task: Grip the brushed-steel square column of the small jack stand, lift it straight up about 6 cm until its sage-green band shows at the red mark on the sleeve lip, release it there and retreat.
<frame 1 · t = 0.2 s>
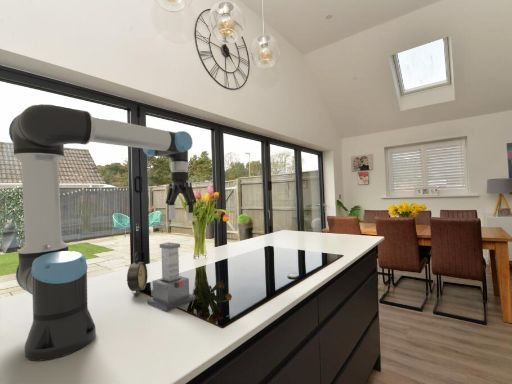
hand: (180, 220, 117), 28 cm above the kitchen island, fingers open, 13 cm apart
stand base: (171, 301, 96), on the kitchen island
alarm clock: (137, 293, 106), on the kitchen island
column: (170, 270, 96), point 11 cm above the kitchen island, slide at 0.0 cm
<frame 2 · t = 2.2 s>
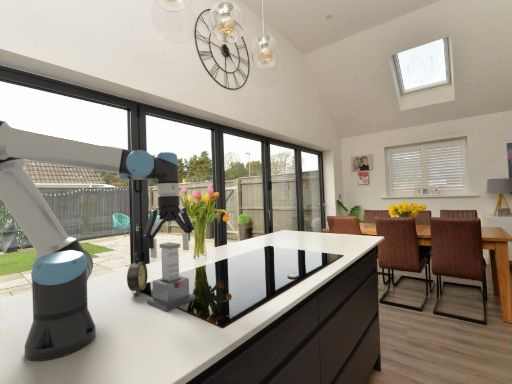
hand: (170, 253, 96), 17 cm above the kitchen island, fingers open, 13 cm apart
nothing on the kitchen island moved.
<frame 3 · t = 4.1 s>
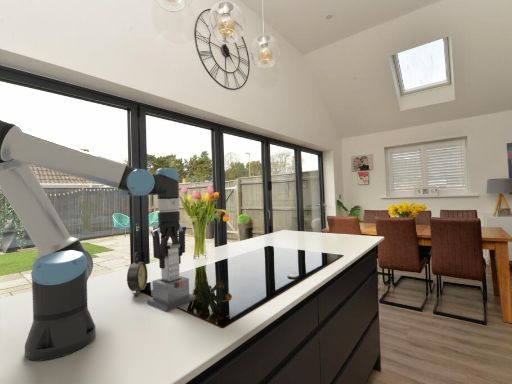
hand: (170, 275, 96), 10 cm above the kitchen island, fingers closed on column, 4 cm apart
column: (170, 270, 96), point 11 cm above the kitchen island, slide at 0.0 cm, touching gripper
everything else where it was.
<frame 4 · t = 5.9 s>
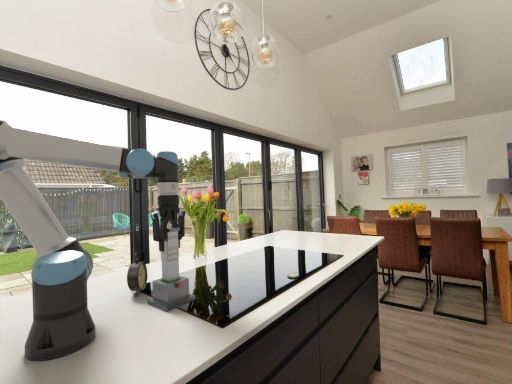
hand: (170, 258, 96), 16 cm above the kitchen island, fingers closed on column, 4 cm apart
column: (170, 254, 96), point 17 cm above the kitchen island, slide at 6.0 cm, touching gripper
everything else where it was.
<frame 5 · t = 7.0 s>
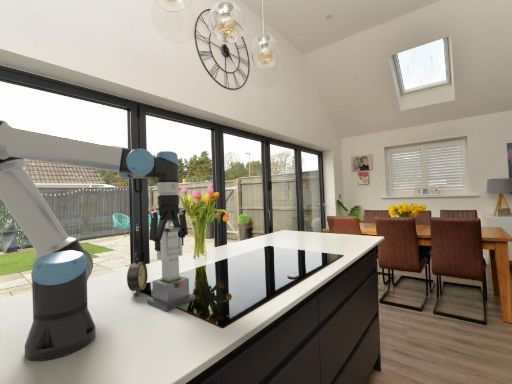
hand: (170, 257, 96), 16 cm above the kitchen island, fingers open, 7 cm apart
column: (170, 254, 96), point 17 cm above the kitchen island, slide at 6.0 cm
everything else where it was.
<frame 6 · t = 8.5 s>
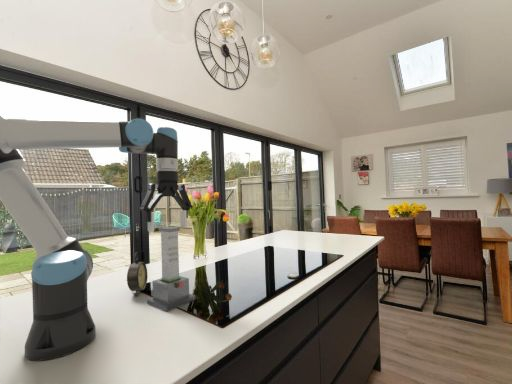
hand: (168, 229, 96), 26 cm above the kitchen island, fingers open, 13 cm apart
nothing on the kitchen island moved.
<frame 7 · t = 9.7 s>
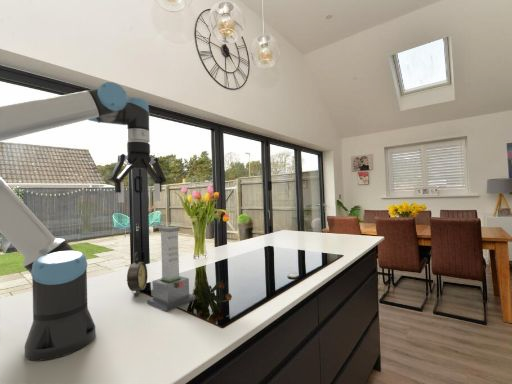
hand: (140, 201, 95), 37 cm above the kitchen island, fingers open, 13 cm apart
nothing on the kitchen island moved.
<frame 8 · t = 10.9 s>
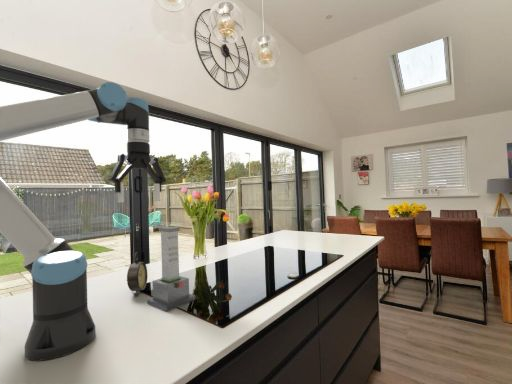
hand: (140, 201, 95), 37 cm above the kitchen island, fingers open, 13 cm apart
nothing on the kitchen island moved.
at the end: column slide at 6.0 cm; the gripper is holding nothing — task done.
